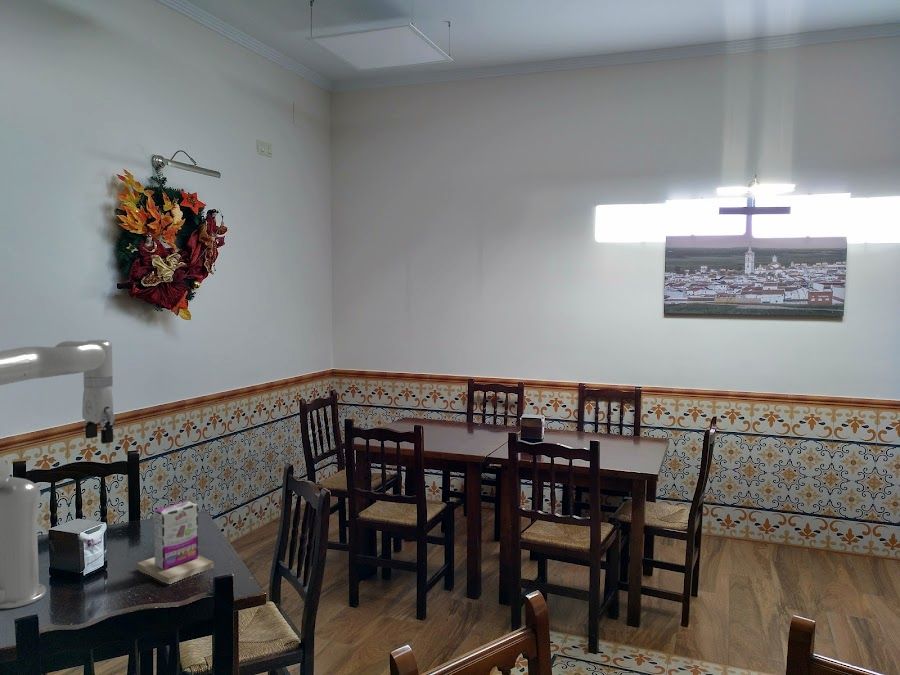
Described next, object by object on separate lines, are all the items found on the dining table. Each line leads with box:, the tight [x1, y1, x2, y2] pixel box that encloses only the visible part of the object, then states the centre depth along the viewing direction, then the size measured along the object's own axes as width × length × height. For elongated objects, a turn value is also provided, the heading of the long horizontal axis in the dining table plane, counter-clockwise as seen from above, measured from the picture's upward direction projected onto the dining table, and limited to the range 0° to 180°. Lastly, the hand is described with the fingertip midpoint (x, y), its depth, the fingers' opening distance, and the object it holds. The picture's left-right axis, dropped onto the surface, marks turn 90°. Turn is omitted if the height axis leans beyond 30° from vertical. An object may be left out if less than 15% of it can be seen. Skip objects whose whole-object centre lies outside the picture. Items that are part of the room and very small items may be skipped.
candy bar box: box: [153, 500, 199, 570], centre depth 195 cm, size 11×5×16 cm, turn 144°
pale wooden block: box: [137, 554, 215, 584], centre depth 196 cm, size 14×16×3 cm
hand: (99, 440), depth 199 cm, fingers open, 9 cm apart
